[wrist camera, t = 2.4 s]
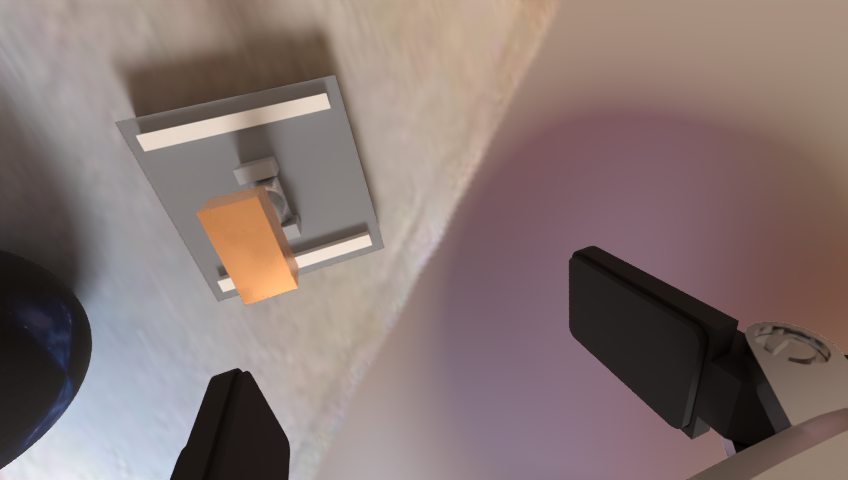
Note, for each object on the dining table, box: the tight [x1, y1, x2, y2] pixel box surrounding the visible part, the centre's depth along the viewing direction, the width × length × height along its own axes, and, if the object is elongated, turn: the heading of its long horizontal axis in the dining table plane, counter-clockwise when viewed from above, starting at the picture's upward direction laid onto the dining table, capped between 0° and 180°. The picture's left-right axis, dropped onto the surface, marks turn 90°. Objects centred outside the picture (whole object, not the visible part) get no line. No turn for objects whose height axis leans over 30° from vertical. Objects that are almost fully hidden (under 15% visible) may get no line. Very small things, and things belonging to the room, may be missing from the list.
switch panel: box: [115, 75, 384, 301], centre depth 26 cm, size 14×14×6 cm
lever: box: [196, 176, 299, 305], centre depth 21 cm, size 5×3×10 cm, turn 12°
